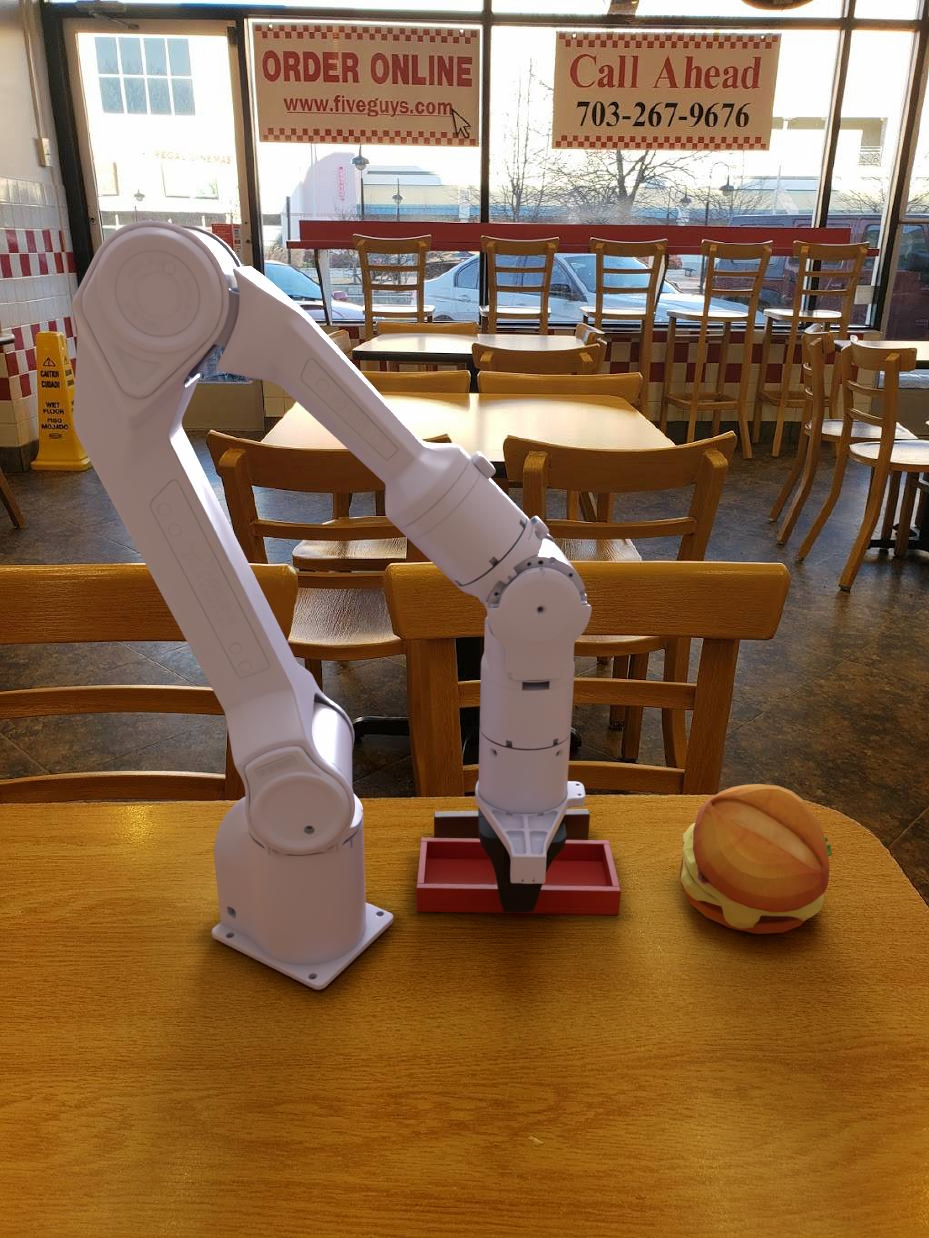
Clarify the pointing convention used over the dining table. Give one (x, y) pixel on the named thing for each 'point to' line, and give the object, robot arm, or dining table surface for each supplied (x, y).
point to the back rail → (467, 825)
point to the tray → (468, 881)
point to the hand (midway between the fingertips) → (517, 906)
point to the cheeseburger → (756, 860)
